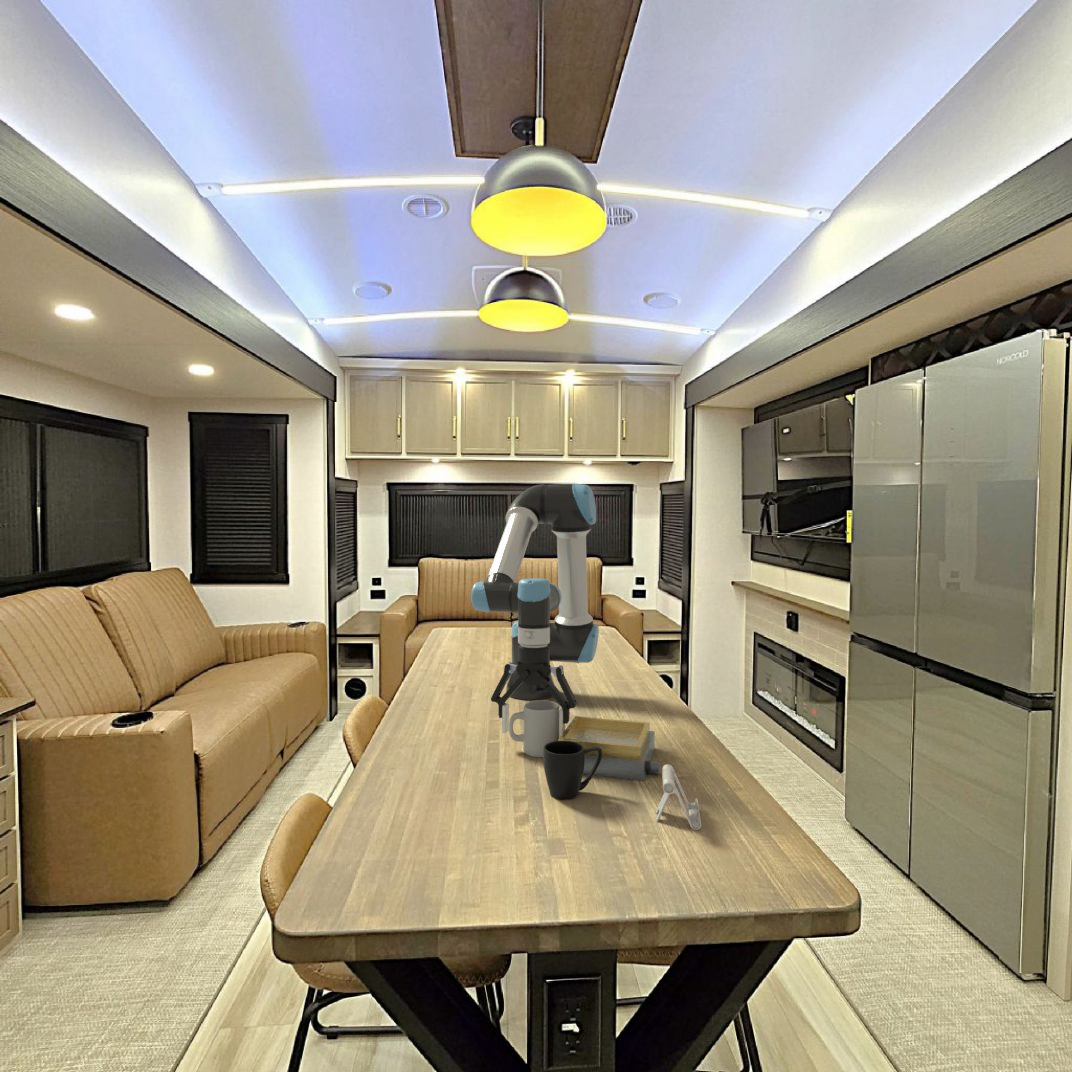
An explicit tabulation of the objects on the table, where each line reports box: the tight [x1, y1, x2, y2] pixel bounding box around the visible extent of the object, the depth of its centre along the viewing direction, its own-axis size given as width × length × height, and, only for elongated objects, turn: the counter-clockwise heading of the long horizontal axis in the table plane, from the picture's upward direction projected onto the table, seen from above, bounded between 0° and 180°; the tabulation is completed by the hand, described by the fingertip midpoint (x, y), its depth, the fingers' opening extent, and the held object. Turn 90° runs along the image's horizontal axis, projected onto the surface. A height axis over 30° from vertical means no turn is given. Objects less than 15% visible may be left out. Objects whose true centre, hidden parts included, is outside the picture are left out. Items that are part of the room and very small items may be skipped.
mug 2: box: [543, 741, 602, 801], centre depth 134 cm, size 8×12×10 cm
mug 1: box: [508, 699, 560, 758], centre depth 157 cm, size 12×8×11 cm
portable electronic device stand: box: [655, 764, 702, 831], centre depth 123 cm, size 9×8×8 cm
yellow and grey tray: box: [558, 715, 661, 782], centre depth 152 cm, size 23×20×6 cm
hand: (533, 734), depth 156 cm, fingers open, 13 cm apart
